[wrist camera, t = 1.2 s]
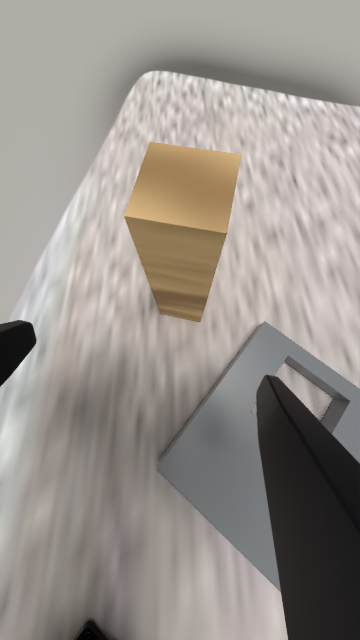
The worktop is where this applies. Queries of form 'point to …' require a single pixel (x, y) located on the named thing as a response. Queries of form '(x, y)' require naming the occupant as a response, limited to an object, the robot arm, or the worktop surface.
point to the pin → (181, 222)
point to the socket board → (249, 443)
